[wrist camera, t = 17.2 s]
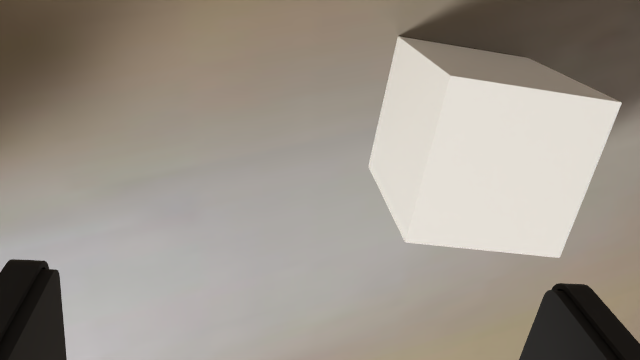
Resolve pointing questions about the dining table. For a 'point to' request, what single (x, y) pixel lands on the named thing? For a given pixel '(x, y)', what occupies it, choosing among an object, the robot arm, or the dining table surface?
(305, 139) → the dining table surface
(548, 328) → the robot arm
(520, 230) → the off-white matte cube
